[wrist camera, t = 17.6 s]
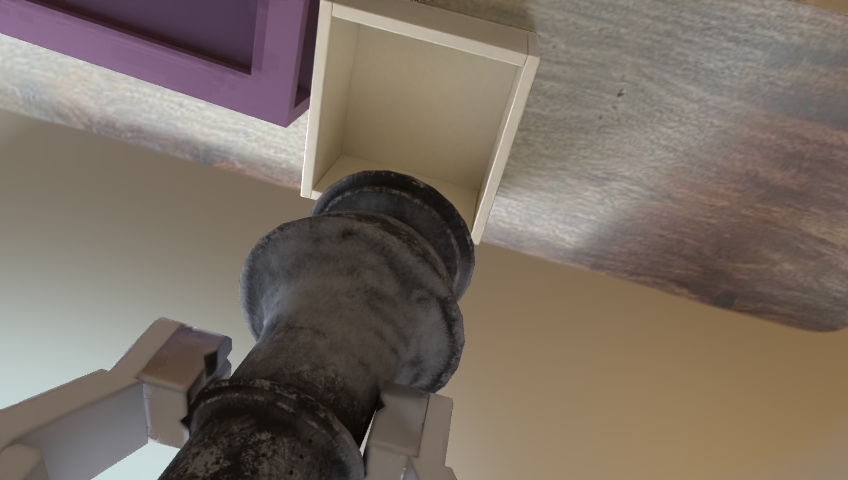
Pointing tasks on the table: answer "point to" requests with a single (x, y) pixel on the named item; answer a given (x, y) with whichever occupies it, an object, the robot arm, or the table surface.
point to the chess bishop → (334, 332)
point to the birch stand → (828, 5)
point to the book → (187, 46)
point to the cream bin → (417, 99)
